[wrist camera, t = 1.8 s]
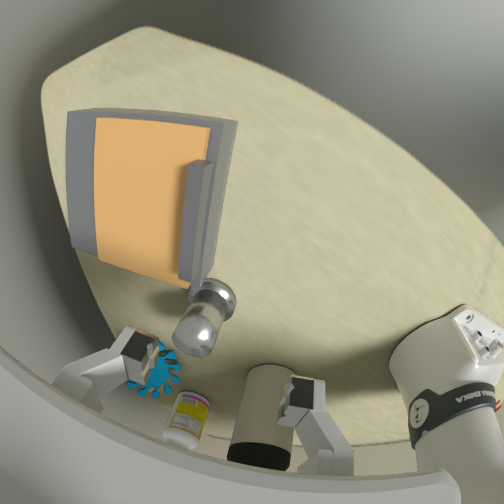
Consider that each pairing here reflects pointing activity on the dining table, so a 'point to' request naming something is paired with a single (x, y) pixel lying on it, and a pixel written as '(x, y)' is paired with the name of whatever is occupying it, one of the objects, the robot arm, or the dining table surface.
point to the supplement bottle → (186, 420)
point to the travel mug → (262, 421)
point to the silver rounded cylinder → (204, 317)
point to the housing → (82, 174)
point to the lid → (151, 196)
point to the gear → (159, 375)
